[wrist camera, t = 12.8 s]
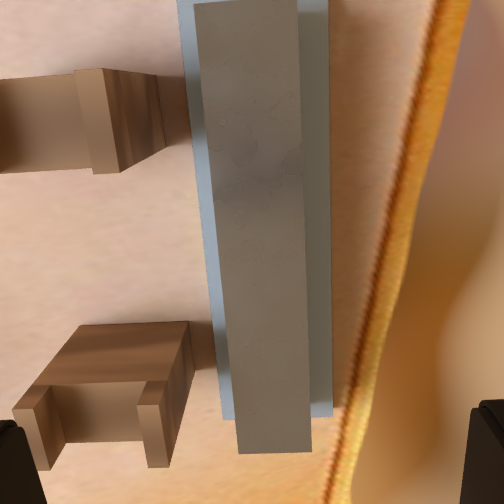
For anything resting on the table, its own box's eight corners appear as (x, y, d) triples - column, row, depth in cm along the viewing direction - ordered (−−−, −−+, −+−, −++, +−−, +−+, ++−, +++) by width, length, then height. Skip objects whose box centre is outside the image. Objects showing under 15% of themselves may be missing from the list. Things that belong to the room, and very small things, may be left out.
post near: (26, 85, 23) (-86, 83, 16) (156, 75, 23) (102, 68, 16) (41, 155, 24) (-56, 183, 17) (165, 147, 24) (119, 172, 17)
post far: (79, 325, 28) (11, 409, 21) (188, 321, 28) (158, 404, 20) (90, 375, 29) (30, 471, 22) (194, 371, 29) (168, 467, 21)
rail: (206, 19, 21) (193, 3, 17) (292, 11, 21) (296, -6, 17) (242, 406, 29) (238, 454, 25) (306, 404, 28) (311, 452, 25)
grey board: (179, 1, 22) (176, -2, 21) (325, -11, 21) (327, -15, 21) (224, 411, 30) (223, 420, 29) (331, 408, 29) (332, 416, 29)
